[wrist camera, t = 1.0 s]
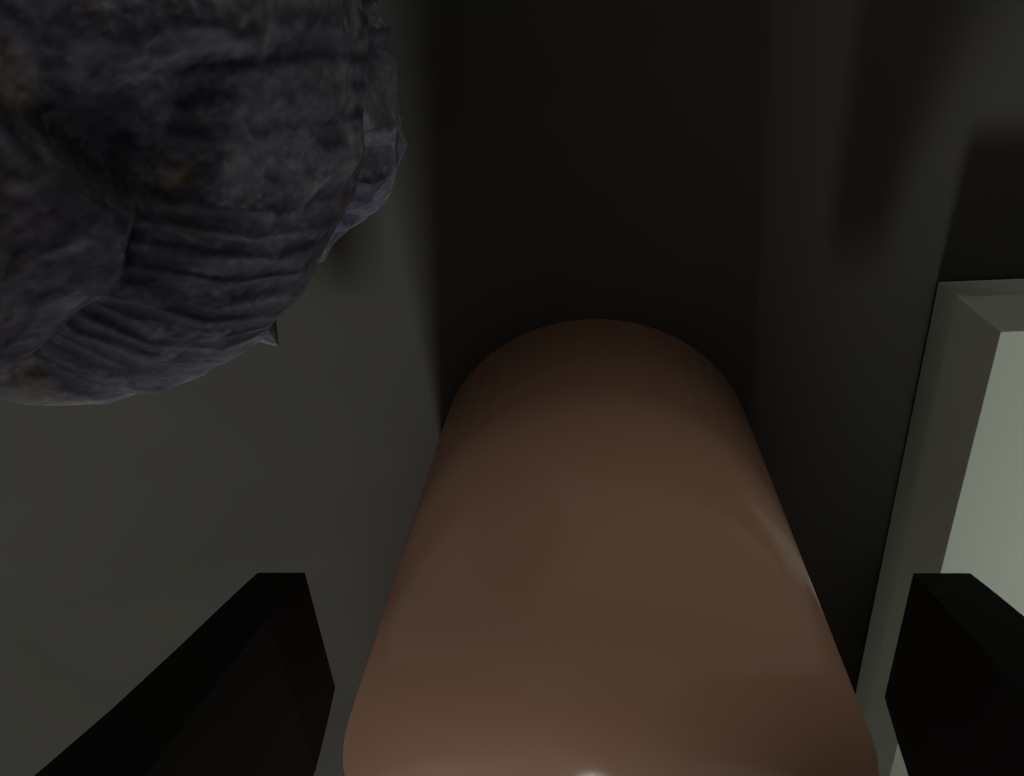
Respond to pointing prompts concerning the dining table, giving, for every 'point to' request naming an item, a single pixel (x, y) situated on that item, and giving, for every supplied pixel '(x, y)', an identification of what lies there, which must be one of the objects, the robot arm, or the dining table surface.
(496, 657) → the tan cylinder
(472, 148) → the dining table surface
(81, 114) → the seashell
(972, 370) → the tray
